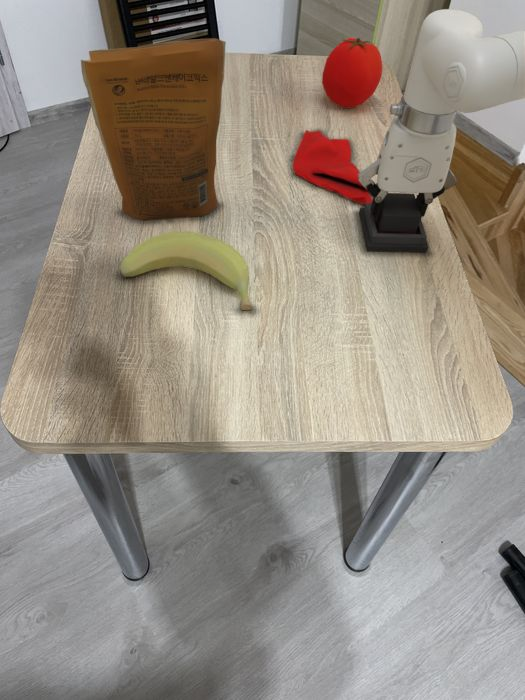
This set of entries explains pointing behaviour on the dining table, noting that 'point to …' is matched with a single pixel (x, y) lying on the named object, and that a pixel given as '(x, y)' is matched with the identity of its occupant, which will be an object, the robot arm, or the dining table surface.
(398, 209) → the black pad
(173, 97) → the pancake mix bag
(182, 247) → the banana
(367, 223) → the base pad
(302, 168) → the cloth
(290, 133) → the dining table surface
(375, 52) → the tomato
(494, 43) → the robot arm
